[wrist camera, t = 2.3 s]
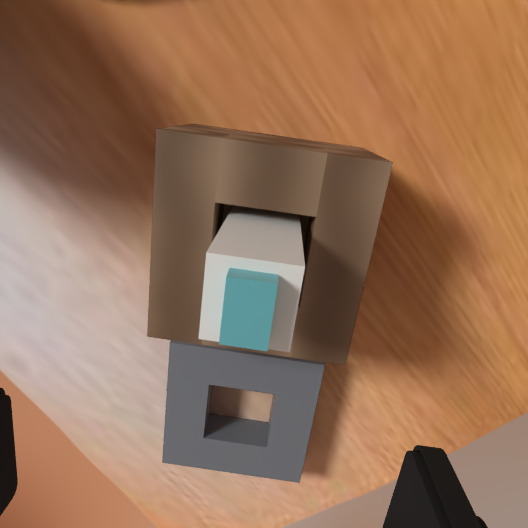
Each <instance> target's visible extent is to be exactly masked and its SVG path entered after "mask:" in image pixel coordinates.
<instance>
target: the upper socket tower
mask: <svg viewBox="0 0 528 528" xmlns="http://www.w3.org/2000/svg"><path fill="white" fill-rule="evenodd" d="M392 164H393V162H391V161H389V160H387V159H385V158H382V157H380V156H378V155H376V154H374V153H372V152H370V151H368V150H366V149H364V148H359V147H352V146H345V145H338V144H331V143H324V142H317V141H310V140H303V139H296V138H289V137H282V136H275V135H268V134H261V133H254V132H247V131H240V130H233V129H226V128H219V127H212V126H205V125H198V124H189V125H181V126H173V127H166V128H158V129H156V144H155V168H154V192H153V215H152V239H151V262H150V286H149V309H148V333H147V337H154V338H161V339H168V340H175V341H181V342H188V343H195V344H202V345H209V346H216V347H223V348H230V349H236V350H243V351H250V352H257V353H264V354H271V355H278V356H284V357H291V358H298V359H305V360H312V361H319V362H326V363H333V364H339V365H345V364H346V360H347V356H348V352H349V347H350V343H351V339H352V335H353V330H354V326H355V322H356V318H357V313H358V309H359V305H360V301H361V296H362V292H363V288H364V283H365V279H366V275H367V271H368V266H369V262H370V258H371V254H372V249H373V245H374V241H375V237H376V232H377V228H378V224H379V220H380V215H381V211H382V207H383V203H384V198H385V194H386V190H387V186H388V181H389V177H390V173H391V169H392ZM234 205H236V206H243V207H250V208H257V209H264V210H271V211H278V212H285V213H292V214H299V215H300V224H301V234H302V243H303V252H304V261H305V270H304V276H303V281H302V287H301V292H300V298H299V303H298V309H297V315H296V320H295V326H294V331H293V337H292V343H291V348H290V352H284V351H277V350H271V349H268V351H261V350H254V349H247V348H240V347H234V346H227V345H220V344H219V342H216V341H209V340H202V339H198V338H199V327H200V316H201V305H202V294H203V283H204V272H205V261H206V252H207V250H208V249H209V247H210V245H211V243H212V242H213V240H214V238H215V237H216V235H217V233H218V231H219V230H220V228H221V226H222V224H223V223H224V221H225V219H226V218H227V216H228V214H229V212H230V211H231V209H232V207H233V206H234Z"/></svg>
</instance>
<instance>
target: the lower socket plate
mask: <svg viewBox="0 0 528 528" xmlns="http://www.w3.org/2000/svg"><path fill="white" fill-rule="evenodd" d="M324 367H325V362H319V361H312V360H305V359H298V358H291V357H284V356H278V355H271V354H264V353H257V352H250V351H243V350H236V349H230V348H223V347H216V346H209V345H202V344H195V343H188V342H181V341H175V340H171V342H170V351H169V366H168V382H167V397H166V413H165V429H164V444H163V460H162V463H169V464H176V465H182V466H189V467H196V468H203V469H210V470H216V471H223V472H230V473H237V474H244V475H250V476H257V477H264V478H271V479H277V480H284V481H291V482H298V483H300V478H301V474H302V469H303V465H304V460H305V455H306V451H307V446H308V441H309V437H310V432H311V427H312V423H313V418H314V413H315V409H316V404H317V400H318V395H319V390H320V386H321V381H322V376H323V372H324ZM213 385H215V386H222V387H229V388H236V389H243V390H249V391H256V392H263V393H270V394H273V399H272V405H271V411H270V417H269V423H268V422H261V421H254V420H247V419H241V418H234V417H227V416H220V415H213V414H210V404H211V395H212V386H213Z"/></svg>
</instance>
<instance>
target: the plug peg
mask: <svg viewBox="0 0 528 528" xmlns="http://www.w3.org/2000/svg"><path fill="white" fill-rule="evenodd" d="M304 270H305V261H304V252H303V243H302V234H301V224H300V215H299V214H292V213H285V212H278V211H271V210H264V209H257V208H250V207H243V206H236V205H234V206H233V207H232V209H231V211H230V212H229V214H228V216H227V218H226V219H225V221H224V223H223V224H222V226H221V228H220V230H219V231H218V233H217V235H216V237H215V238H214V240H213V242H212V243H211V245H210V247H209V249H208V250H207V252H206V261H205V272H204V283H203V294H202V305H201V316H200V327H199V338H198V339H202V340H209V341H216V342H219V344H220V345H227V346H234V347H240V348H247V349H254V350H261V351H268V349H271V350H277V351H284V352H290V348H291V343H292V337H293V331H294V326H295V320H296V315H297V309H298V303H299V298H300V292H301V287H302V281H303V276H304Z"/></svg>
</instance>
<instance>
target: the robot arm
mask: <svg viewBox="0 0 528 528" xmlns="http://www.w3.org/2000/svg"><path fill="white" fill-rule="evenodd" d="M16 489H17V469H16V457H15V444H14V432H13V420H12V408H11V399H10V397H9V396H8V395H5V391H4V390H3V388H0V515H1V514H2V513H3V511H4V510H5V508H6V507H7V506H8V504H9V503H10V501H11V500H12V498H13V496H14V494H15V492H16ZM383 528H488V527H487V526H486V524H485V523H484V521H483V520H482V519H481V518H480V517H478V516H476V515H475V513H474V511H473V509H472V506H471V504H470V503H469V500H468V498H467V496H466V494H465V492H464V490H463V488H462V486H461V484H460V482H459V480H458V478H457V476H456V474H455V472H454V469H453V467H452V465H451V464H450V461H449V460H448V457H447V455H446V453H445V452H444V450H443V449H441V448H435V447H427V446H420V445H416V446H415V447H414V450H413V451H407V452H406V455H405V458H404V461H403V464H402V467H401V470H400V473H399V477H398V480H397V483H396V486H395V489H394V493H393V496H392V499H391V503H390V505H389V509H388V512H387V515H386V518H385V521H384V525H383Z"/></svg>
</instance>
